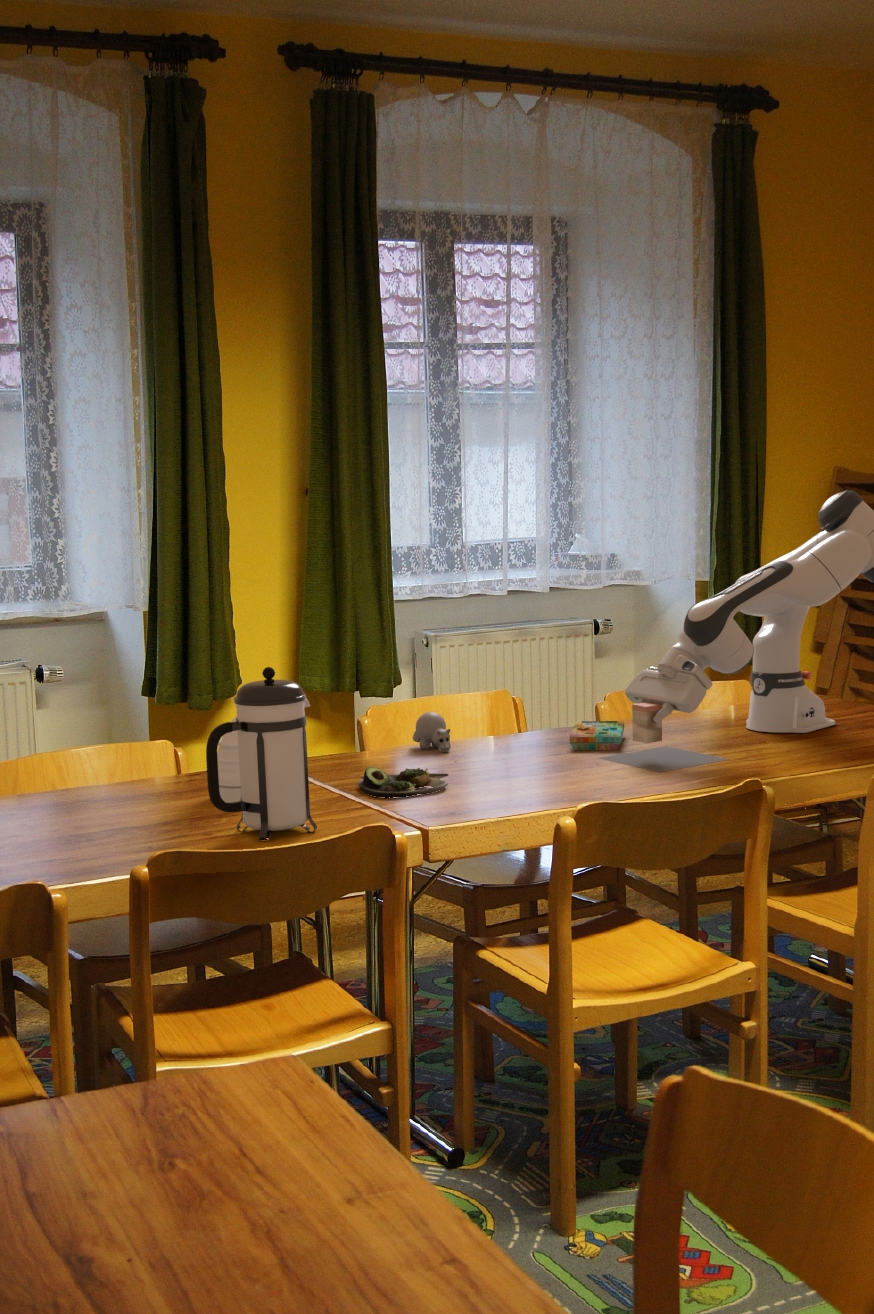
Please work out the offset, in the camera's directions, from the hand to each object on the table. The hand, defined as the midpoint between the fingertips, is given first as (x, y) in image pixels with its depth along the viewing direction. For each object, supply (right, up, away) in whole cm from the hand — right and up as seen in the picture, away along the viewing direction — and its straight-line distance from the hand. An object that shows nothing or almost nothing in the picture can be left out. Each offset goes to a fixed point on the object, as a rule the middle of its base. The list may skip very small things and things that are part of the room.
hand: (645, 720), depth 281 cm
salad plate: (-53, -14, -16) cm, 57 cm away
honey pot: (-84, -15, -18) cm, 88 cm away
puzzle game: (-7, -7, +25) cm, 27 cm away
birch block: (+1, -5, +1) cm, 5 cm away
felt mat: (+5, -9, +3) cm, 10 cm away
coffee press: (-75, -18, -48) cm, 91 cm away
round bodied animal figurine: (-46, -8, +25) cm, 53 cm away
